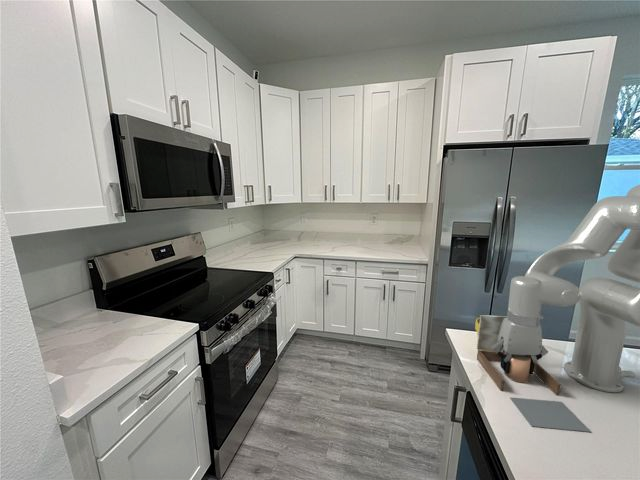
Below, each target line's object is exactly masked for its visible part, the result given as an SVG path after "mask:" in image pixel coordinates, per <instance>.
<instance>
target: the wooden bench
mask: <svg viewBox="0 0 640 480" xmlns="http://www.w3.org/2000/svg"><path fill="white" fill-rule="evenodd" d="M479 318H480V323H479V332H478V335H477V342H476V343H477V344H476V350H477V355H476V360H477V361H478V362H479V364H480V365H481V366H482V368H483V369H484V370H485V372H486V373H487V374H488V376H489V377H490V379H491V380H492V381H493V383H494V384H495V385H496V387H497V388H498V389H499V391H500V392H503V391H504V383H505V380H504V378H503V377H502V376H501V374H500V373H499V372H498V371H497V370H496V368H495V367H494V366H493V365H492V363H491V362H498V363H499V362H500V363H501V357H500V356H499V355H498V354H497V353H496V352H495V351H494V350H493V349H492V348H491V346H492V345H494V344H495V343H496V342H498V336H499V331H500V327H501V324H502V322H503V320H504V318H507V315H486V314H485V315H482V314H480V315H479ZM502 349H503V347H501V348H500V349H499V350H500V351H502ZM487 350H493V351H487ZM505 355H506V354H505ZM533 372H534V373H535V374H534V373H533V374H534V375H535V376H536V377H537V378H538V379H541V380H542V381H543V382H544V383H543V382H542V381H541V380H540V381H541V382H542V383H543V384H546V385H547V386H548V387H547V386H546V385H545V386H546V387H547V388H548V389H549V390H551V392H552V393H553V394H554V395H555V396H560V390H561V386H562V385H561V384H560V383H559V382H558V380H556V378H555V377H553V376H552V375H551V374H550V373H549V372H548V371H547V370H546V369H545V368H543V367H542V366H541V365H540V364H539V363H538V362H537V363H536V364H535V367H534V371H533Z"/></svg>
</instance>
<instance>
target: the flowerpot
mask: <svg viewBox="0 0 640 480" xmlns="http://www.w3.org/2000/svg"><path fill="white" fill-rule="evenodd" d="M506 354H507V353H506ZM509 362H510V370H509V374H506V373H505V371H504V370H503V373H504V375H505V376H506V377H507V378H508V379H510V380H512V381H515V382H518V383H527V382H528V381H529V377H530V374H529V370H530V362H531V358H530V356H528V355H517V354H512V356H511V357H510V359H509Z"/></svg>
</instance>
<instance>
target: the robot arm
mask: <svg viewBox="0 0 640 480" xmlns="http://www.w3.org/2000/svg"><path fill="white" fill-rule="evenodd" d="M626 230H629V232H628V233H627V235H626V236H625V238H624V239H623V240H622V242H620V244H619V246H618V247H617V248H616V249H615V251H614V253H613V254H612V255H611V257H610V258H609V260H608V262H607V270H608V271H609V272H610V273H611V274H613V275H614V276H616V277H618V278H621V279H625V280H628V281H632V282H636V283H637V284H640V184H639V185H635V186H633V187H631V189H629V190H628V192H627V193H626V195H618V196H609V197H608V196H607V197H603V198H601V199H599V200H598V201H596V202H595V203H594V205H592V207H591V208H590V210H589V212H588V213H587V214H586V215H585V216H584V217H583V219H582V220H581V222H580V223H579V224H578V226H577V227H576V229H575V230H574V231H573V233H572V234H570V236H569V237H568V239H567V240H565V241H564V242H562V243H560V244H558V245H557V246H554V247H552V248H551V249H549V250H547V251H545V252H544V253H543V254H541V255H539V256H538V257H537V258H536V259H535V260H534V262H533V263H532V264H531V266H530V267H529V268H528V269H527V270H526V273H525V275H524V276H523V275H521V276H520V275H517V276H514V277H512V278H511V280H510V286H509V295H508V307H507V314H506V316H507V318H504V320H503V322H502V324H501V327H500V331H499V336H498V342H496V343H495V344H494V345H492V346H491V348H492V349H493V350H494V351H495V352H496V353H497V354H498V355H499V356H500V357H501V362H500V365H499V366H500V368H501V369H502V370H503V372H504V371H505V373H506V374H509V370H510V362H509V359H510V357H511V356H512V354H517V355H528V356H530V358H531V362H530V370H529V376H533V375H534V373H533V371H534V367H535V364H536V363H538V361H539V360H541V359H542V358H543V357H544V356H545V355H547V354H548V353H549V350H547V348H546V347H545V346H544V345H543V333H542V332H543V331H542V325H541V323H540V320H543V319H545V318H544V315H543V314H541V310H542V306H543V305H544V306H545V305H546V306H547V305H548V306H552V307H558V308H559V307H560V308H563V307H565V308H566V307H567V308H568V307H573V306H574V305H576V304H578V302H579V307H580V310H579V317H578V318H579V319H578V325H577V331H576V336H575V341H574V346H573V352H572V358H571V360H570V361H569V360H568V361H566V362H565V363H564V364H563V369H564V370H563V371H564V372H565V373H566V375H568V376H569V377H570V378H571V379H573V380H575V381H577V382H579V383H580V384H582V385H584V386H587V387H589V388H592V389H594V390H598V391H601V392H606V393H620V392H622V391H623V390H624V383H623V381H622V380H621V379H624V378H628V379H635V378H636V373H635V372H634V371H632V370H625V369H624V370H622V368H621V366H620V363H621V359H622V355H623V354H622V353H623V349H624V345H625V340H626V336H627V332H628V331H627V330H628V329H627V325H626V323H628V324H631V325H633V326H635V327H639V328H640V287H638V286H633V285H631V284H628V283H625V282H622V281H618V280H615V279H612V278H608V277H592V278H591V277H590V278H588V279H587V280H585V281H584V282H583V283H581V285H580V287H579V286H577V285H576V284H574V283H572V282H570V281H568V280H566V279H563V278H560V277H558V276H554V275H555V273H556V272H557V271H559V269H561V268H562V267H564V266H567V265H569V264H571V263H574V262H575V263H577V262H580V261H587V260H593V259H600V258H603V257H605V256H607V255H608V253H609V252H610V250H611V249H612V248H613V247H614V245H615V244H616V243H617V242H618V240H619V239H620V237H622V235H623V234H624V233H625V231H626ZM501 347H503V349H502V351H500V350H499V349H500V348H501ZM506 353H507V354H506ZM505 354H506V355H505ZM505 373H504V374H505Z"/></svg>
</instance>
